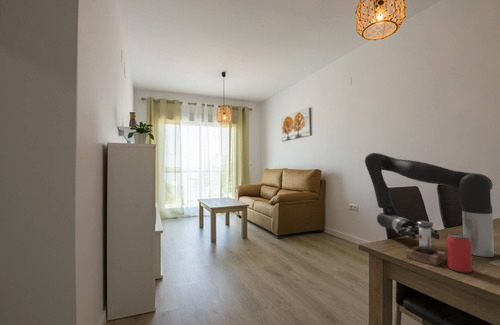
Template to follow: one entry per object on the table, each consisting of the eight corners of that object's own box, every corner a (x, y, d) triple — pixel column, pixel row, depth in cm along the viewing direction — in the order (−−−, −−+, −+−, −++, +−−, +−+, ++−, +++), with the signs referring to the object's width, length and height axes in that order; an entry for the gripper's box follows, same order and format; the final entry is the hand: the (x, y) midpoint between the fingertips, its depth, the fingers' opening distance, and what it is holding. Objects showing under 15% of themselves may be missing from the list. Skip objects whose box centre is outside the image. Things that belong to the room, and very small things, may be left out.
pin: (421, 255, 99) (419, 220, 99) (436, 259, 94) (434, 222, 95) (415, 258, 96) (414, 222, 96) (430, 262, 92) (429, 224, 92)
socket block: (417, 252, 102) (417, 245, 102) (446, 259, 94) (446, 252, 94) (406, 257, 96) (406, 250, 97) (436, 265, 88) (435, 257, 88)
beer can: (463, 274, 81) (462, 239, 81) (443, 267, 87) (441, 234, 87) (477, 272, 82) (475, 237, 83) (456, 264, 89) (455, 232, 89)
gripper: (388, 218, 112) (407, 226, 95) (420, 218, 110) (445, 227, 94) (388, 234, 111) (407, 245, 95) (421, 235, 110) (446, 246, 94)
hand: (426, 236), depth 95 cm, fingers open, 8 cm apart
